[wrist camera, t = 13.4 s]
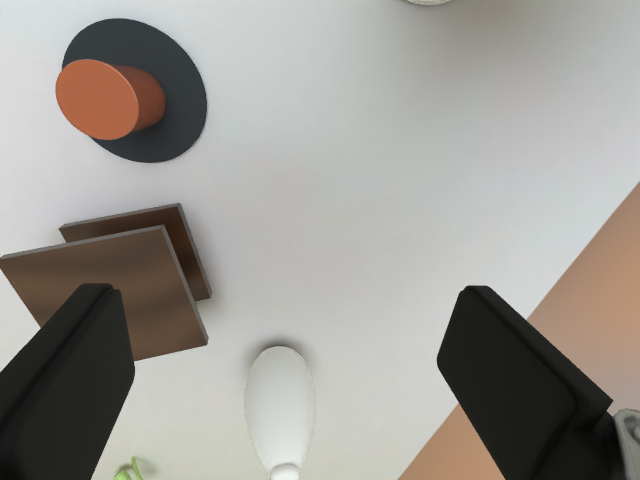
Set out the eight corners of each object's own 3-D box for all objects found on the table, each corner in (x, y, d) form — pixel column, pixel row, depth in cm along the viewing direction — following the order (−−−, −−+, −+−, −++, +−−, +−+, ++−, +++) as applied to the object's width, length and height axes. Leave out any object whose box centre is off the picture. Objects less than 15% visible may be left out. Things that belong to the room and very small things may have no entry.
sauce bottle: (244, 375, 43) (233, 548, 27) (249, 328, 40) (242, 492, 24) (301, 376, 45) (324, 538, 29) (311, 331, 42) (343, 484, 26)
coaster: (48, 12, 24) (43, 10, 24) (201, 27, 26) (199, 26, 26) (83, 159, 29) (79, 160, 29) (211, 163, 31) (210, 164, 30)
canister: (97, 63, 26) (45, 55, 20) (162, 68, 27) (131, 62, 20) (109, 126, 28) (66, 138, 22) (169, 129, 29) (143, 141, 22)
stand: (55, 220, 31) (-6, 260, 24) (183, 197, 32) (160, 228, 25) (109, 318, 36) (72, 375, 29) (217, 295, 37) (207, 345, 30)
